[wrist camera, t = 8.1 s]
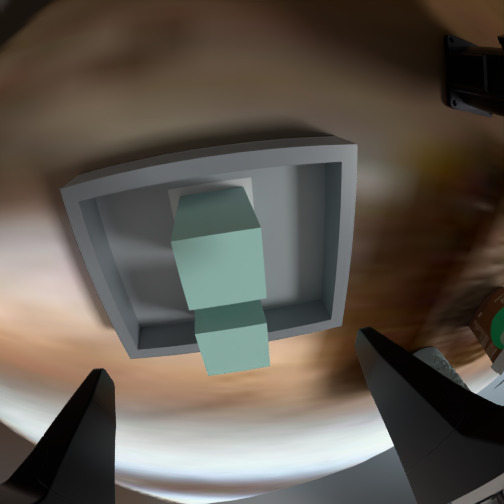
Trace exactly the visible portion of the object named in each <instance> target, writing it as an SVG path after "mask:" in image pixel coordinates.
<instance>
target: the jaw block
mask: <svg viewBox="0 0 504 504" xmlns="http://www.w3.org/2000/svg"><path fill="white" fill-rule="evenodd" d="M171 245H172V249H173V253H174V257H175V261H176V265H177V268H178V272H179V276H180V280H181V283H182V287H183V290H184V294H185V297H186V301H187V304H188V308H189V310H196V309H203V308H209V307H216V306H223V305H229V304H235V303H241V302H247V301H253V300H259V299H265V298H267V295H266V282H265V270H264V257H263V245H262V233H261V226H260V224H259V222H258V219H257V217H256V215H255V212H254V210H253V208H252V205H251V203H250V201H249V198H248V196H247V194H246V191H245V189H244V187H238V188H231V189H224V190H217V191H211V192H205V193H198V194H192V195H186V196H180V198H179V203H178V207H177V212H176V217H175V222H174V227H173V232H172V237H171Z"/></svg>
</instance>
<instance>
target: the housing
mask: <svg viewBox="0 0 504 504" xmlns="http://www.w3.org/2000/svg"><path fill="white" fill-rule="evenodd" d="M356 180H357V144H355V143H353V142H350V141H348V140H345V139H342V138H340V137H337V136H325V137H304V138H288V139H275V140H264V141H254V142H245V143H236V144H228V145H220V146H213V147H206V148H200V149H193V150H187V151H181V152H176V153H170V154H165V155H160V156H154V157H149V158H145V159H140V160H135V161H131V162H126V163H122V164H118V165H114V166H109V167H105V168H102V169H98V170H94V171H90V172H86V173H83V174H79V175H78V176H76V177H75V178H73V179H72V180H71V181H70V182H68V183H67V184H66V185H64V186H63V187H62V188H60V192H61V195H62V199H63V202H64V205H65V208H66V212H67V215H68V218H69V221H70V224H71V227H72V230H73V233H74V236H75V239H76V241H77V244H78V247H79V249H80V252H81V255H82V257H83V260H84V262H85V265H86V267H87V270H88V272H89V275H90V277H91V280H92V282H93V284H94V287H95V289H96V291H97V293H98V296H99V298H100V300H101V302H102V304H103V306H104V309H105V311H106V313H107V315H108V317H109V319H110V321H111V323H112V325H113V327H114V329H115V331H116V333H117V335H118V337H119V339H120V341H121V342H122V344H123V346H124V348H125V350H126V352H127V353H128V355H129V357H130V359H136V358H148V357H159V356H170V355H179V354H188V353H196V352H201V355H202V358H203V361H204V364H205V367H206V370H207V373H208V376H210V375H218V374H225V373H232V372H238V371H245V370H251V369H257V368H262V367H268V366H270V359H269V345H268V341H273V340H278V339H284V338H289V337H294V336H298V335H303V334H308V333H313V332H317V331H322V330H326V329H330V328H335V327H339V326H342V320H343V314H344V307H345V300H346V293H347V286H348V278H349V269H350V260H351V251H352V240H353V229H354V216H355V200H356ZM238 187H244V189H245V191H246V194H247V196H248V198H249V201H250V203H251V205H252V208H253V210H254V212H255V215H256V217H257V219H258V222H259V224H260V226H261V233H262V245H263V257H264V270H265V282H266V295H267V298H265V299H259V300H253V301H247V302H241V303H235V304H229V305H223V306H216V307H209V308H203V309H196V310H189V308H188V304H187V301H186V297H185V294H184V290H183V287H182V283H181V280H180V276H179V272H178V268H177V265H176V261H175V257H174V253H173V249H172V245H171V237H172V232H173V227H174V222H175V217H176V212H177V207H178V203H179V198H180V196H186V195H192V194H198V193H205V192H211V191H217V190H224V189H231V188H238Z"/></svg>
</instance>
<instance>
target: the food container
mask: <svg viewBox="0 0 504 504" xmlns="http://www.w3.org/2000/svg"><path fill="white" fill-rule="evenodd" d="M469 327H470V329H471V330H472V332H473V333H474V335H475V336H476V338H477V339H478V341H479V342H480V344H481V345H482V347H483V348H484V350H485V352H486V353H487V355H488V356H489V358H490V360H491V361H492V363H493V364H492V366H491V368H492V369H493V370H494V371H495V372H496V373H499V374H500V375H501V374H502V373H503V371H504V287H500V288H498V289H496V290H495V291H493V292H492V293H491V294H490V295H489V296H488V297H487V298H486V299H485V300H484V301H483V303H482V304H481V305H480V306H479V308H478V309H477V311H476V312H475V314H474V316H473V317H472V319H471V321H470V323H469Z"/></svg>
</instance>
